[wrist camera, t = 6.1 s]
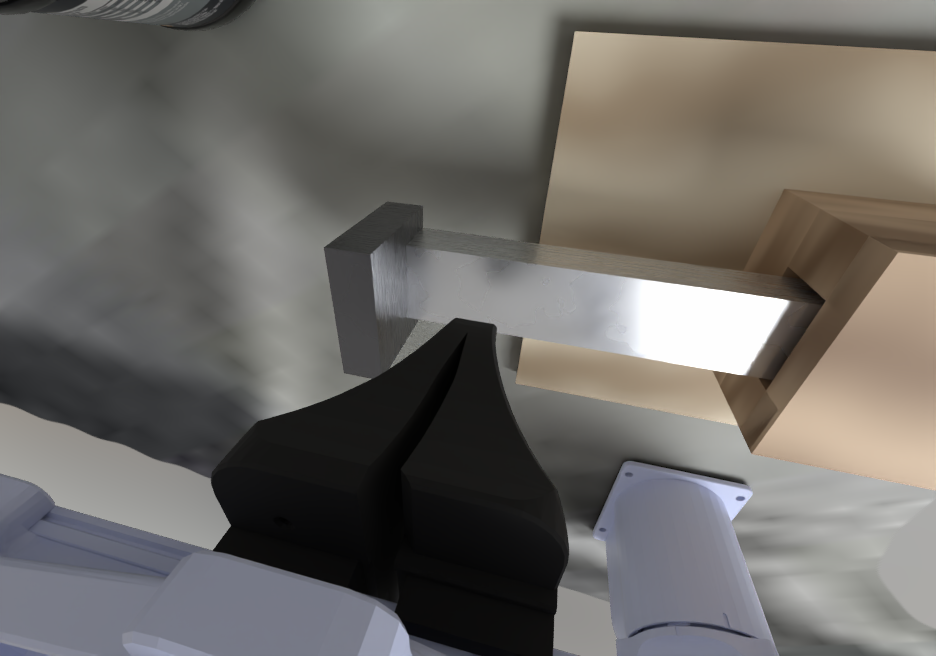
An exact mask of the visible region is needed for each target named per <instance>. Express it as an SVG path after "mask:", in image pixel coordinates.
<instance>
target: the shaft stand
mask: <svg viewBox="0 0 936 656" xmlns="http://www.w3.org/2000/svg"><path fill="white" fill-rule="evenodd" d="M539 244H546V245H553V246H561V247H568V248H575V249H583V250H590V251H597V252H605V253H612V254H620V255H627V256H634V257H642V258H649V259H657V260H664V261H671V262H679V263H686V264H693V265H701V266H708V267H716V268H723V269H730V270H738V271H745V272H752V273H760V274H767V275H775V276H782V277H789V278H797V279H802V280H804V281H805V282H806V283H807V284H808V285H809V286H810V287H811V288H812V289H813V290H815V291H816V292H817V293H818V294H819V295H820V296H821V297H822V298H823V299H824V300H826V301H825V303H824V304H823V306H822V307H821V309H820V310H819V312H818V313H817V315H816V316H815V318H814V319H813V321H812V322H811V324H810V325H809V327H808V328H807V330H806V331H805V333H804V334H803V336H802V337H801V339H800V340H799V342H798V343H797V345H796V346H795V348H794V349H793V351H792V352H791V354H790V355H789V357H788V358H787V360H786V361H785V363H784V364H783V366H782V367H781V369H780V370H779V372H778V373H777V375H776V376H775V378H774V379H773V380H769V379H763V378H757V377H751V376H746V375H740V374H734V373H728V372H722V371H716V370H711V369H705V368H699V367H693V366H687V365H681V364H675V363H670V362H664V361H658V360H652V359H646V358H640V357H635V356H629V355H623V354H617V353H611V352H605V351H600V350H594V349H588V348H582V347H576V346H570V345H565V344H559V343H553V342H547V341H541V340H535V339H530V338H524V337H523V341H522V347H521V353H520V359H519V365H518V371H517V377H516V384H521V385H526V386H531V387H537V388H542V389H547V390H553V391H558V392H563V393H568V394H574V395H579V396H584V397H590V398H595V399H600V400H605V401H611V402H616V403H621V404H627V405H632V406H637V407H642V408H648V409H653V410H658V411H664V412H669V413H674V414H679V415H685V416H690V417H695V418H701V419H706V420H711V421H716V422H722V423H727V424H732V425H738V426H739V428H740V430H741V432H742V435H743V437H744V439H745V441H746V443H747V445H748V447H749V449H750V452H751V454H754V455H760V456H765V457H770V458H775V459H780V460H785V461H790V462H795V463H800V464H805V465H810V466H815V467H820V468H825V469H830V470H835V471H840V472H845V473H850V474H855V475H861V476H866V477H871V478H876V479H881V480H886V481H891V482H896V483H901V484H906V485H911V486H916V487H921V488H926V489H931V490H936V51H921V50H903V49H885V48H867V47H849V46H831V45H813V44H795V43H777V42H759V41H741V40H723V39H705V38H687V37H670V36H652V35H634V34H616V33H598V32H580V31H575V34H574V40H573V46H572V52H571V58H570V63H569V69H568V75H567V81H566V87H565V93H564V99H563V105H562V111H561V117H560V123H559V128H558V134H557V140H556V146H555V152H554V158H553V164H552V170H551V176H550V182H549V188H548V194H547V199H546V205H545V211H544V217H543V223H542V229H541V235H540V241H539Z"/></svg>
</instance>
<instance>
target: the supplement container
mask: <svg viewBox="0 0 936 656" xmlns="http://www.w3.org/2000/svg"><path fill="white" fill-rule="evenodd" d="M255 1H256V0H0V14H1V15H14V14H25V13H28V12H37V13H46V14H56V15H66V16H75V17H85V18H94V19H104V20H114V21H123V22H133V23H142V24H152V25H160V26H163V27H167V28H171V29H177V30H187V31H202V30H209V29H214V28H218V27H221V26H223V25H226V24H228V23H230V22H232V21H233V20H235V19H237V18H238V17H240V16H241V15H242V14H243V13H244V12H246V11H247V10H248V9H249V8H250V6H251V5H252V4H253V3H254V2H255Z"/></svg>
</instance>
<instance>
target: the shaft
mask: <svg viewBox="0 0 936 656" xmlns="http://www.w3.org/2000/svg"><path fill="white" fill-rule="evenodd" d="M324 251H325V257H326V263H327V269H328V276H329V282H330V288H331V294H332V301H333V307H334V313H335V319H336V326H337V332H338V338H339V344H340V350H341V357H342V363H343V369H344V373H346V374H352V375H357V376H362V377H367V378H372V379H373V378H375V377H377V376H378V375H380V374H382V373H384V372H385V371H387V370H389V368H390V366H391V365H392V363H393V361H394V360H395V358H396V356H397V355H398V353H399V351H400V350H401V348H402V346H403V345H404V343H405V341H406V340H407V338H408V337H409V335H410V333H411V332H412V330H413V328H414V327H415V325H416V323H417V322H418V320H424V321H430V322H436V323H442V324H448V323H449V322H450V321H451V320H453V319H454V318H462V319H467V320H473V321H479V322H485V323H491V324H495V326H496V327H497V333H500V334H506V335H512V336H518V337H524V338H530V339H535V340H541V341H547V342H553V343H559V344H565V345H570V346H576V347H582V348H588V349H594V350H600V351H605V352H611V353H617V354H623V355H629V356H635V357H640V358H646V359H652V360H658V361H664V362H670V363H675V364H681V365H687V366H693V367H699V368H705V369H711V370H716V371H722V372H728V373H734V374H740V375H746V376H751V377H757V378H763V379H769V380H773V379H774V378H775V376H776V375H777V373H778V372H779V370H780V369H781V367H782V366H783V364H784V363H785V361H786V360H787V358H788V357H789V355H790V354H791V352H792V351H793V349H794V348H795V346H796V345H797V343H798V342H799V340H800V339H801V337H802V336H803V334H804V333H805V331H806V330H807V328H808V327H809V325H810V324H811V322H812V321H813V319H814V318H815V316H816V315H817V313H818V312H819V310H820V309H821V307H822V306H823V304H824V303H825V301H826V300H824V299H823V298H822V297H821V296H820V295H819V294H818V293H817V292H816V291H815V290H813V289H812V288H811V287H810V286H809V285H808V284H807V283H806V282H805V281H804V280H802V279H797V278H789V277H782V276H775V275H767V274H760V273H752V272H745V271H738V270H730V269H723V268H716V267H708V266H701V265H693V264H686V263H679V262H671V261H664V260H657V259H649V258H642V257H634V256H627V255H620V254H612V253H605V252H597V251H590V250H583V249H575V248H568V247H561V246H553V245H546V244H538V243H531V242H524V241H516V240H509V239H501V238H494V237H487V236H479V235H472V234H465V233H457V232H450V231H442V230H435V229H428V228H423V206H418V205H410V204H402V203H394V202H386V203H385V204H383V205H382V206H380V207H379V208H378V209H376V210H375V211H374V212H372V213H371V214H369V215H368V216H367V217H365V218H364V219H363V220H361V221H360V222H358V223H357V224H356V225H354V226H353V227H352V228H350V229H349V230H347V231H346V232H345V233H343V234H342V235H341V236H339V237H338V238H336V239H335V240H334V241H332V242H331V243H329V244H328V245H327V246H325V247H324Z"/></svg>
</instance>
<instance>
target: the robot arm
mask: <svg viewBox="0 0 936 656" xmlns="http://www.w3.org/2000/svg"><path fill="white" fill-rule="evenodd" d="M496 334H497V327H496V326H495V324H491V323H485V322H479V321H473V320H467V319H462V318H454V319H453V320H451V321H450V322H449V323H448V324H447V325H446V326H445V327H444V328H443V329H441V330H440V331H439V332H438V333H437V334H436V335H434V336H433V337H432V338H431V339H430V340H428V341H427V342H426V343H425V344H423V345H422V346H421V347H420V348H418V349H417V350H416V351H415V352H413V353H412V354H410V355H409V356H408V357H406V358H405V359H403V360H402V361H401V362H399V363H398V364H396V365H395V366H393V367H392V368H390V369H389V370H387V371H385V372H384V373H382V374H380V375H378V376H377V377H375V378H373V379H371V380H369V381H367V382H365V383H363V384H361V385H359V386H357V387H355V388H353V389H350V390H348V391H346V392H344V393H342V394H340V395H337V396H335V397H332V398H330V399H327V400H325V401H322V402H319V403H316V404H314V405H311V406H308V407H305V408H302V409H299V410H296V411H292V412H289V413H286V414H282V415H279V416H275V417H272V418H268V419H265V420H261V421H258V422H257V423H256V424H255V425H254V426H253V427H252V428H251V429H250V430H249V431H248V432H247V433H246V434H245V435H244V436H243V437H242V438H241V439H240V440H239V442H238V443H237V444H236V445H235V446H234V447H233V448H232V450H231V451H230V452H229V453H228V454H227V455H226V456H225V458H224V459H223V460H222V461H221V462H220V463H219V464H218V466H217V467H216V468H215V469H214V470H213V472H212V476H211V484H212V488H213V491H214V493H215V496H216V498H217V500H218V501H219V503H220V505H221V507H222V509H223V511H224V513H225V515H226V517H227V519H228V521H229V523H230V524H231V527H230V528H229V529H228V531H227V532H226V533H225V535H224V536H223V537H222V539H221V540H220V542H219V543H218V544H217V546H216V547H215V548H214V549H213V551H212V550H209V549H205V548H202V547H198V546H195V545H191V544H188V543H184V542H181V541H177V540H174V539H170V538H167V537H163V536H159V535H156V534H153V533H149V532H146V531H142V530H139V529H136V528H132V527H128V526H125V525H122V524H118V523H114V522H111V521H107V520H104V519H100V518H97V517H93V516H90V515H87V514H83V513H80V512H76V511H73V510H69V509H66V508H62V507H59V506H55V502H54V501H53V499H52V498H51V497H50V496H49V495H48V494H47V493H46V492H45V491H44V490H43V489H41V488H40V487H38V486H37V485H35V484H33V483H30V482H28V481H24V480H21V479H18V478H14V477H10V476H7V475H3V474H0V656H579V655H575V654H571V653H568V652H565V651H561V650H558V649H554V648H553V638H554V615H555V614H556V609H557V588H558V585H559V583H560V580H561V578H562V575H563V573H564V571H565V568H566V566H567V563H568V557H569V543H568V535H567V529H566V523H565V518H564V514H563V510H562V506H561V502H560V499H559V495H558V491H557V489H556V488H555V486H554V485H553V484H552V482H551V481H550V479H549V478H548V477H547V475H546V474H545V472H544V470H543V469H542V467H541V466H540V464H539V463H538V461H537V459H536V458H535V456H534V454H533V453H532V451H531V449H530V448H529V446H528V444H527V442H526V440H525V438H524V436H523V434H522V432H521V430H520V428H519V426H518V424H517V422H516V420H515V417H514V415H513V413H512V410H511V408H510V405H509V402H508V400H507V397H506V394H505V391H504V387H503V384H502V380H501V376H500V372H499V367H498V362H497V356H496V346H495V342H496ZM752 494H753V492H752V490H751V488H750V487H749V486H747V485H744V484H740V483H735V482H730V481H725V480H720V479H716V478H711V477H706V476H701V475H697V474H692V473H687V472H682V471H677V470H673V469H668V468H663V467H658V466H653V465H649V464H644V463H639V462H634V461H626V462H624V463H623V465H622V467H621V469H620V472H619V474H618V476H617V478H616V480H615V483H614V485H613V487H612V489H611V492H610V494H609V496H608V498H607V501H606V503H605V505H604V507H603V509H602V512H601V514H600V516H599V518H598V521H597V523H596V525H595V527H594V530H593V537H594V538H596V539H598V540H602V541H606V553H607V567H608V580H609V594H610V607H611V619H612V625H613V628H614V632H615V635H616V637H617V640H616V648H617V656H779V654H778V652H777V649H776V647H775V644H774V641H773V638H772V635H771V633H770V630H769V627H768V624H767V621H766V618H765V616H764V613H763V610H762V607H761V604H760V602H759V599H758V596H757V593H756V590H755V587H754V585H753V582H752V579H751V576H750V573H749V571H748V568H747V565H746V562H745V559H744V556H743V554H742V551H741V548H740V545H739V542H738V540H737V537H736V534H735V531H734V528H733V525H732V523H731V521H732V520H733V518H734V517H735V516H736V515H737V513H738V512H739V511H740V510H741V508H742V507H743V506H744V505H745V503H746V502H747V501H748V500H749V499H750V497H751V496H752Z"/></svg>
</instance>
